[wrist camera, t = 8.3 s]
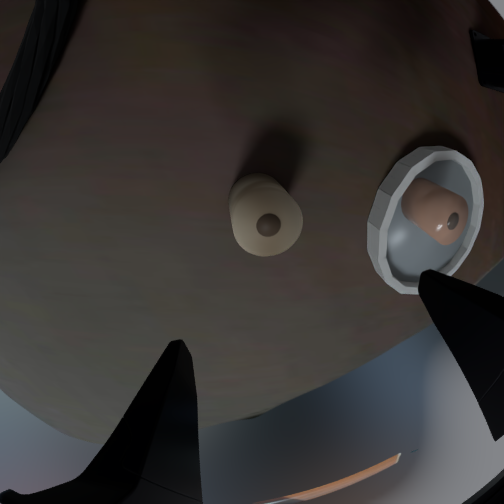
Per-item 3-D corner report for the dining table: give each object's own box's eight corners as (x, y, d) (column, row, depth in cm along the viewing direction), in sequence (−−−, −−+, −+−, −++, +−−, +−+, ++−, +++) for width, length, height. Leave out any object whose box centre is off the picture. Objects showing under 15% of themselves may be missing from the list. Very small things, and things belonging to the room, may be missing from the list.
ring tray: (474, 144, 19) (488, 149, 17) (459, 263, 26) (469, 271, 24) (364, 151, 18) (378, 156, 17) (364, 299, 25) (372, 311, 24)
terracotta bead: (421, 168, 18) (459, 184, 14) (439, 198, 20) (473, 218, 16) (393, 202, 20) (428, 225, 16) (414, 229, 21) (445, 254, 17)
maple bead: (279, 167, 18) (298, 184, 14) (287, 219, 20) (306, 248, 16) (222, 180, 18) (225, 200, 14) (234, 231, 20) (241, 263, 16)
